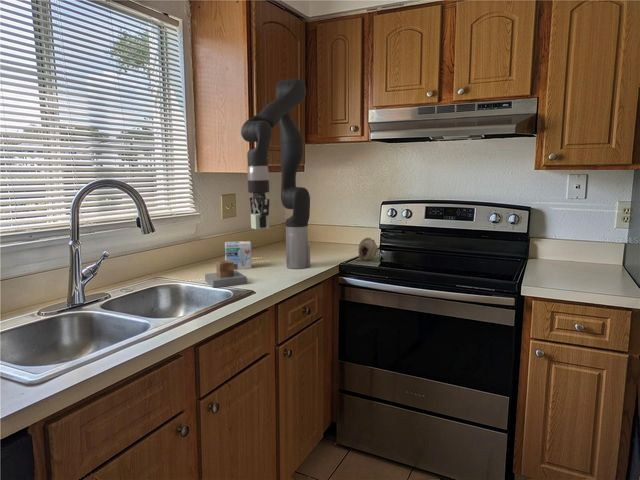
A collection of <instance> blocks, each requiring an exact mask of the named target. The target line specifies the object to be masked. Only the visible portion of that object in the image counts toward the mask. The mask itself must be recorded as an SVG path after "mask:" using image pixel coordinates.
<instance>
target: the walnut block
mask: <svg viewBox="0 0 640 480" xmlns="http://www.w3.org/2000/svg"><path fill="white" fill-rule="evenodd" d="M215 265H216V266H215V268H216V271H215V273H217V275H218V276H219V277H220V278H221V277H230V276H234V271H235V269H234V262H232V261H230V260H225V259H224V260H217V261H215Z"/></svg>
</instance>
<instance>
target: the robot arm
mask: <svg viewBox="0 0 640 480" xmlns="http://www.w3.org/2000/svg"><path fill="white" fill-rule="evenodd" d="M306 95H307V88H306V84H305V82H304V81H303V80H302V79H301V78H290V79H283V80H279V81H278V82H277V83H276V85H275V100H272V101H271V102H269V103H267V105H265V106H264V107H263V109H261V110H260V111H259V113H257V114H255V115H253V116H251V118H248V119H247V120H246V121H244V123H243V124H242V126H241V129H240V134H241V137H242V139H243V140H244V141H246V142H248V143H257V144H256V146H255V147H254V148H251V149H249V150H248V151H247V154H246V155H247V192H248V194H249V193H250V194H252V197H249V203H250V204H249V205H250V212H251V213H250V214H259V218H260V228H265V227H266V217H267V215H269V214H270V213H269V212H270V198H267V197H266V193H269V192H270V174H269V172H270V171H269V166H268V162H269V161H268V157H269V156H268V153H269V148H270V143H271V139H272V135H273V134H272V132H273V131H272V129H273V128H274V127H275V126H277V124H278V123H279V124H278V125H279V137H280V138H279V143H280V144H279V146H280V158H281V159H280V162H281V164H280V165H281V180H280V181H281V184H280V186H281V187H280V200H281V204H282V206H283V207H284V208H285V209H287V210H292V215H291V216H290V217H289V218H286V219H285V256H286V258H285V259H286V266H285V267H286V268H287V269H288V268H289V269H297V270H299V269H300V270H301V269H307V268H309V267H311V244H310V243H309V226H308V225H309V221H310V217H311V216H310V213H311V212H310V211H311V195H310V193H309V190H308V188H306V187H301V186H297V181H296V180H297V179H296V178H297V172H298V169H299V166H300V165H301V162H302V160H303V156H304V137H303V135H302V133H301V131H300V129H299V128H298V126H297V125H296V123H295V122H294V120H293V118H292V117H293V116H292V115H291V110H293V109H294V108H295V107H297V106H298V105H300V104H301V103H303V102H304V100H305V98H306ZM269 216H270V215H269Z"/></svg>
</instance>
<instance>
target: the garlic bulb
mask: <svg viewBox="0 0 640 480" xmlns="http://www.w3.org/2000/svg"><path fill="white" fill-rule="evenodd" d="M377 253H378V245H377V243H376V242H375V239H372V237H365V238H363V239H362V240H361V241H360V243H359V245H358V256H357V257H358V258H359V259H360V260H361V259H362V260H364V261H368V260H369V261H370V260H373V259H374V258H375V257H376V255H377Z"/></svg>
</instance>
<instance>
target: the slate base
mask: <svg viewBox="0 0 640 480" xmlns="http://www.w3.org/2000/svg"><path fill="white" fill-rule="evenodd" d="M247 279H248V278H247V276H246V275H244V274H243V273H242V272H240V271H238V270H234V276H230V277H221V278H220V277H219V276H218V275H217V272H210V273H204V282H206V283H207V284H208V285H209V286H211V287H212V288H214V289H215V288H216V289H217V288H223V287H230V286H232V287H233V286H238V285H247V283H248V282H247Z"/></svg>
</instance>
